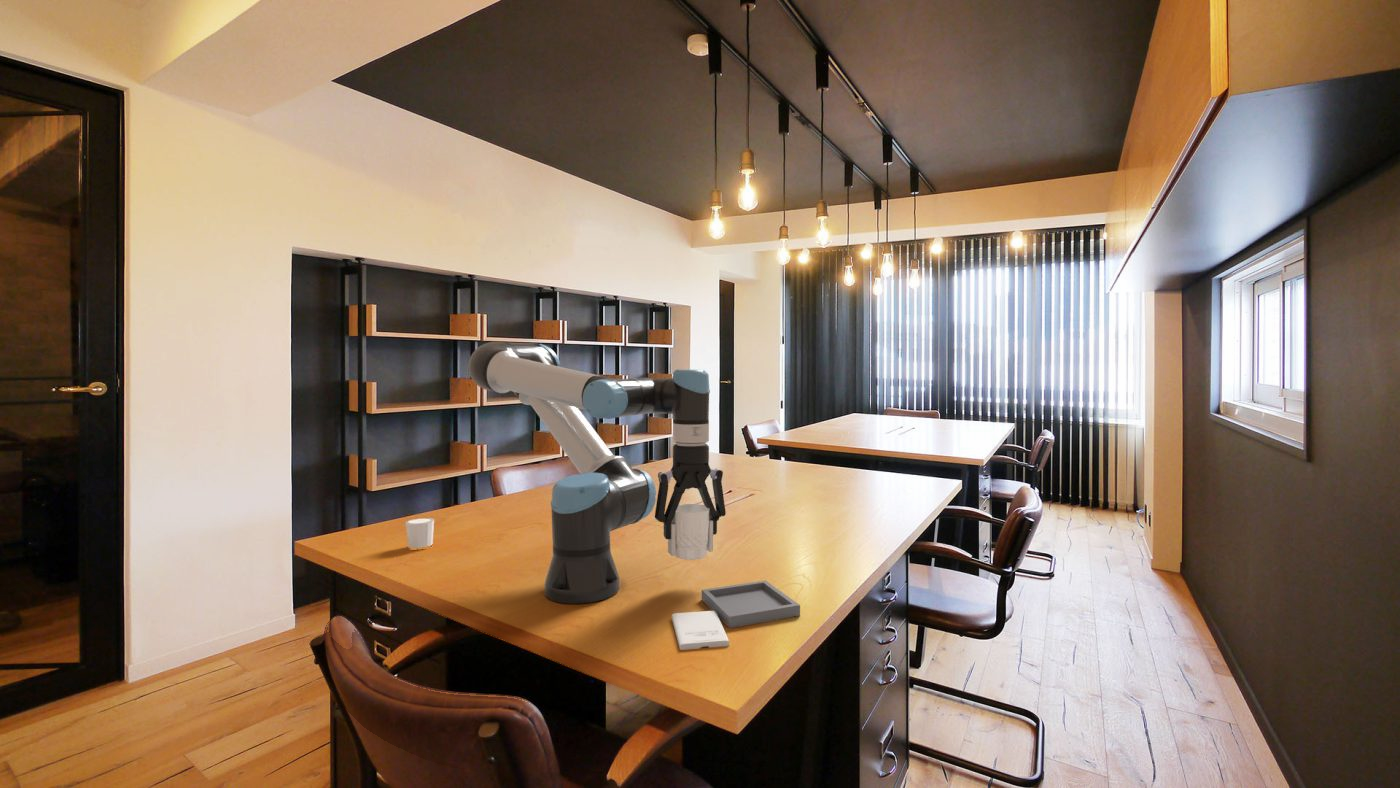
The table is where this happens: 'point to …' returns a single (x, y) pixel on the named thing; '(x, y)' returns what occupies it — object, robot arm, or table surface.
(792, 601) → the tray
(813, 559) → the table surface
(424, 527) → the white short cylinder
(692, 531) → the white cup
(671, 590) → the table surface
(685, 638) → the external hard drive
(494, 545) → the table surface
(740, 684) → the table surface
